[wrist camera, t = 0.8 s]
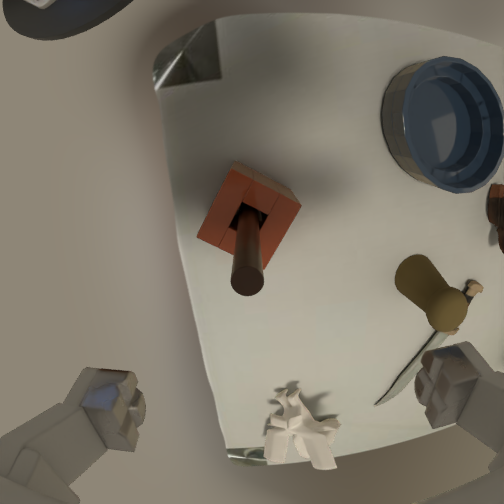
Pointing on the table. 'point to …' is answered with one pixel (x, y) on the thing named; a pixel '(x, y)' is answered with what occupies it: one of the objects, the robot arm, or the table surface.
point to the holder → (257, 196)
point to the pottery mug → (497, 211)
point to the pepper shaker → (431, 293)
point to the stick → (247, 254)
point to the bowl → (445, 124)
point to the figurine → (300, 433)
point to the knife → (433, 344)
